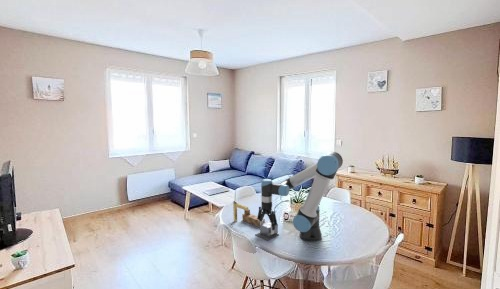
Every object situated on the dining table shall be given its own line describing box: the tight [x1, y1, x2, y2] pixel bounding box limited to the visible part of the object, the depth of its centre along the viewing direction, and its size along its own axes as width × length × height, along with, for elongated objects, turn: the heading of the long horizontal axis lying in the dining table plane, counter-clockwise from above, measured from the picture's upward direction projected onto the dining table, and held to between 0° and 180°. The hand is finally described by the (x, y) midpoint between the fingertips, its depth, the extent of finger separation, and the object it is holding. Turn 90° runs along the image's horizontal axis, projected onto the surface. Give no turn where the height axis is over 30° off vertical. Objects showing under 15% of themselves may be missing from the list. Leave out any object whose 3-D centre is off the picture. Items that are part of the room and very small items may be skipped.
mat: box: [254, 232, 279, 241], centre depth 189 cm, size 12×12×1 cm
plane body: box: [241, 208, 266, 228], centre depth 210 cm, size 20×5×9 cm, turn 44°
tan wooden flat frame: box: [232, 200, 249, 222], centre depth 209 cm, size 16×3×16 cm, turn 44°
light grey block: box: [259, 220, 279, 238], centre depth 190 cm, size 10×8×7 cm
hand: (267, 231), depth 189 cm, fingers open, 9 cm apart
